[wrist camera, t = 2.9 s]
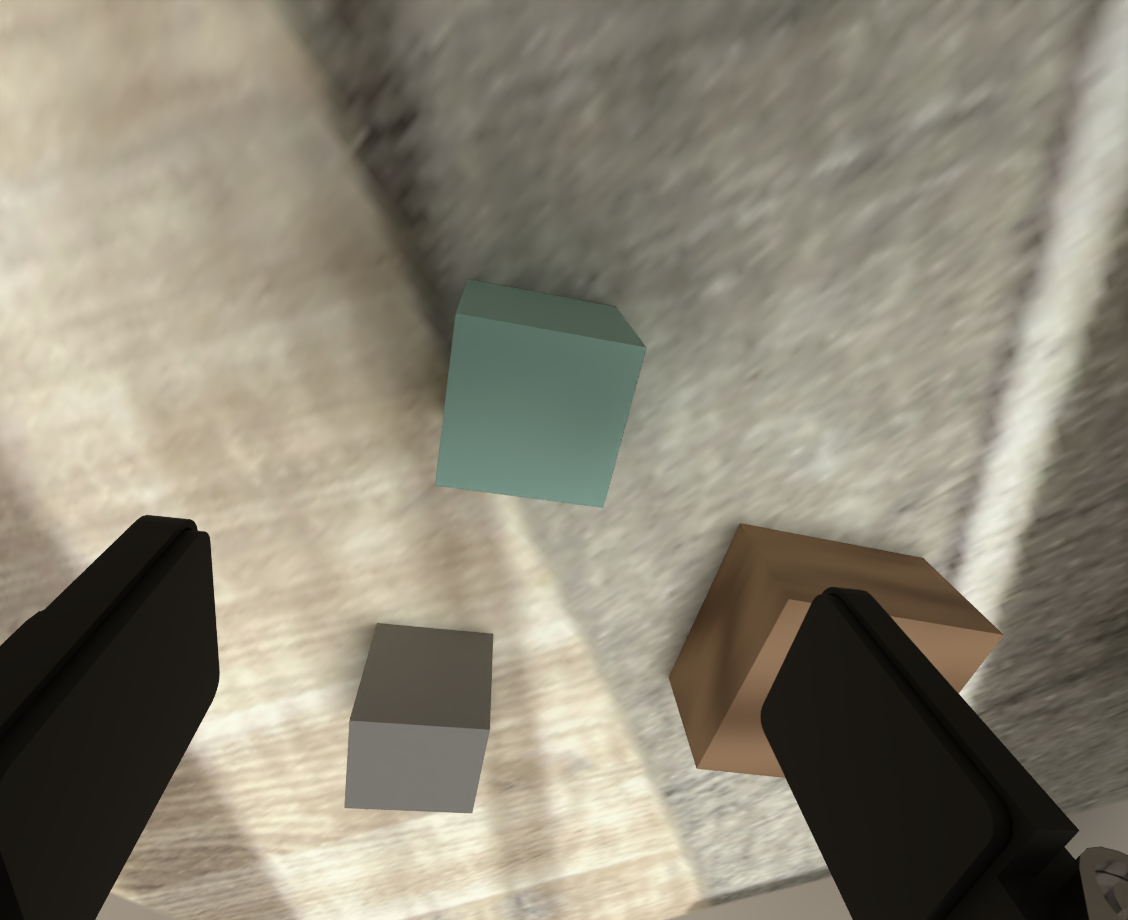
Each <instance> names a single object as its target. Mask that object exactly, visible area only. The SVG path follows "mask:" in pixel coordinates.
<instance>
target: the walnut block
mask: <svg viewBox="0 0 1128 920" xmlns="http://www.w3.org/2000/svg"><path fill="white" fill-rule="evenodd" d="M829 587H841V588H851V589H860V590H864V591H867V592H868V593H869V594H871V595H872V596H873V597H874V598H875V600H876V601H877V602H878V603H879V604H880V605H881V606H882V608H883V609H884V610H885V611H886V612H887V613H888V614H889V615H890V617H891V618H892V619H893V620H894V621H895V622H896V623H897V625H898V626H899V627H900V628H901V629H902V630H903V631H904V632H905V634H906V635H907V636H908V637H909V638H910V639H911V640H912V642H913V643H914V644H915V645H916V646H917V647H918V648H919V649H920V651H921V652H922V653H923V654H924V655H925V656H926V657H927V658H928V660H929V661H930V662H931V663H932V664H933V665H934V666H935V668H936V669H937V670H938V671H939V672H940V673H941V674H942V675H943V677H944V678H945V679H946V680H947V681H948V682H949V683H950V685H951V686H952V687H953V688H954V689H955V690H956V691H957V692H958V694H959V692H960V691H961V690H962V689H963V687H964V686H965V685H966V683H967V682H968V681H969V679H970V678H971V677H972V676H973V674H974V673H975V672H976V670H977V669H978V668H979V666H980V665H981V664H982V663H983V661H984V660H985V659H986V657H987V656H988V655H989V653H990V652H991V651H992V650H993V648H994V647H995V646H996V644H997V643H998V642H999V641H1000V639H1001V638H1002V637H1003V634H1002V633H1001V632H1000V631H999V630H998V629H997V628H996V627H995V626H994V625H993V624H992V623H991V622H990V621H988V620H987V619H986V618H985V617H984V616H983V615H982V614H981V613H980V612H979V611H978V610H977V609H976V608H975V607H974V606H973V605H972V604H971V603H970V602H969V601H968V600H966V599H965V598H964V597H963V596H962V595H961V594H960V593H959V592H958V591H957V590H956V589H955V588H954V587H953V586H952V585H951V584H950V583H949V582H948V581H947V580H946V579H944V578H943V577H942V576H941V575H940V574H939V573H938V572H937V571H936V570H935V569H934V568H933V567H932V566H931V565H930V564H929V563H928V562H927V561H926V560H925V559H924V558H919V557H914V556H909V555H904V554H898V553H893V552H888V551H883V550H877V549H872V548H867V547H862V546H856V545H851V544H846V543H841V542H835V541H830V540H825V539H820V538H814V537H809V536H804V535H799V534H793V533H788V532H783V531H778V530H772V529H767V528H762V527H757V526H751V525H746V524H741V523H740V525H739V527H738V529H737V532H736V534H735V536H734V538H733V540H732V542H731V545H730V547H729V549H728V551H727V553H726V555H725V557H724V560H723V562H722V564H721V566H720V568H719V570H718V572H717V575H716V577H715V579H714V581H713V583H712V585H711V588H710V590H709V592H708V594H707V596H706V598H705V600H704V603H703V605H702V607H701V609H700V611H699V613H698V615H697V618H696V620H695V622H694V624H693V626H692V628H691V630H690V633H689V635H688V637H687V639H686V641H685V643H684V646H683V648H682V650H681V652H680V654H679V656H678V658H677V661H676V663H675V665H674V667H673V669H672V671H671V673H670V676H669V680H670V683H671V687H672V690H673V693H674V696H675V700H676V703H677V706H678V709H679V713H680V716H681V719H682V722H683V726H684V729H685V732H686V735H687V739H688V742H689V745H690V748H691V752H692V755H693V758H694V761H695V765H696V768H697V769H705V770H715V771H725V772H735V773H744V774H754V775H764V776H774V777H784V778H785V776H784V774H783V771H782V769H781V767H780V765H779V763H778V761H777V759H776V757H775V755H774V752H773V750H772V748H771V746H770V744H769V742H768V740H767V738H766V736H765V734H764V731H763V729H762V725H761V717H760V715H761V709H762V705H763V703H764V701H765V699H766V697H767V695H768V693H769V691H770V689H771V687H772V685H773V682H774V680H775V678H776V676H777V674H778V672H779V670H780V668H781V666H782V664H783V662H784V659H785V657H786V655H787V653H788V651H789V649H790V647H791V645H792V643H793V641H794V639H795V636H796V634H797V632H798V630H799V628H800V626H801V624H802V622H803V620H804V618H805V616H806V614H807V611H808V609H809V607H810V605H811V603H812V601H813V600H814V598H815V597H816V596H817V595H821V594H822V593H823V591H824V590H826V589H827V588H829Z"/></svg>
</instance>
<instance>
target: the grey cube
mask: <svg viewBox="0 0 1128 920" xmlns="http://www.w3.org/2000/svg"><path fill="white" fill-rule="evenodd" d="M492 653H493V634H488V633H477V632H466V631H456V630H445V629H434V628H423V627H413V626H402V625H391V624H380V623H377V627H376V630H375V634H374V637H373V641H372V644H371V648H370V651H369V655H368V658H367V662H366V665H365V669H364V672H363V676H362V679H361V682H360V686H359V689H358V693H357V696H356V700H355V703H354V707H353V710H352V714H351V717H350V721H349V739H348V756H347V774H346V791H345V808H357V809H381V810H405V811H429V812H453V813H472V811H473V807H474V802H475V797H476V792H477V788H478V783H479V778H480V774H481V769H482V764H483V759H484V755H485V750H486V745H487V740H488V736H489V731H490V709H491V681H492Z"/></svg>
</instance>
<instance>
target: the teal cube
mask: <svg viewBox="0 0 1128 920" xmlns="http://www.w3.org/2000/svg"><path fill="white" fill-rule="evenodd" d="M645 351H646V346H645V345H644V344H643V342H642V341H641V340H640V338H639V337H638V336H637V334H636V333H635V332H634V330H633V329H632V328H631V326H630V325H629V324H628V322H627V321H626V320H625V318H624V317H623V316H622V314H621V313H620V312H619V310H618V309H617V308H616V307H613V306H608V305H603V304H598V303H592V302H587V301H582V300H577V299H572V298H566V297H561V296H556V295H551V294H545V293H540V292H535V291H530V290H524V289H519V288H514V287H509V286H503V285H498V284H493V283H488V282H482V281H477V280H472V279H468V281H467V283H466V286H465V289H464V292H463V294H462V297H461V300H460V303H459V305H458V308H457V311H456V315H455V323H454V331H453V340H452V348H451V356H450V365H449V373H448V381H447V390H446V398H445V407H444V415H443V423H442V432H441V440H440V448H439V457H438V465H437V473H436V482H435V486H442V487H450V488H458V489H465V490H473V491H480V492H488V493H495V494H503V495H511V496H518V497H526V498H533V499H541V500H548V501H556V502H564V503H571V504H579V505H586V506H594V507H602V508H603V507H604V503H605V499H606V496H607V492H608V488H609V485H610V481H611V477H612V473H613V470H614V466H615V462H616V459H617V455H618V451H619V447H620V444H621V440H622V436H623V433H624V429H625V425H626V421H627V418H628V414H629V410H630V407H631V403H632V399H633V395H634V392H635V388H636V384H637V381H638V377H639V373H640V369H641V366H642V362H643V358H644V355H645Z"/></svg>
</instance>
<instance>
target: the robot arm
mask: <svg viewBox="0 0 1128 920" xmlns="http://www.w3.org/2000/svg"><path fill="white" fill-rule="evenodd" d="M219 674H220V671H219V657H218V643H217V629H216V615H215V600H214V586H213V572H212V558H211V544H210V537H209V535H208V533H207V532H204V531H198V530H197V526H196V524H195V522H194V521H192V520H191V519H181V518H171V517H162V516H152V515H145V516H142V517H140V518H139V519H138V520H136V521H135V522H134V523H133V524H132V525H131V526H130V527H129V528H128V529H127V530H126V531H125V532H124V533H123V534H122V535H121V536H120V537H119V538H118V539H117V540H116V541H115V542H114V543H113V544H112V545H111V546H110V547H109V548H107V549H106V550H105V551H104V552H103V553H102V554H101V555H100V556H99V557H98V558H97V559H96V560H95V561H94V562H93V563H92V564H91V565H90V566H89V567H88V568H87V569H86V570H85V571H84V572H83V573H82V574H81V575H80V576H79V577H78V578H77V579H75V580H74V581H73V582H72V583H71V584H70V585H69V586H68V587H67V588H66V589H65V590H64V591H63V592H62V593H61V594H60V595H59V596H58V597H57V598H56V599H55V600H54V601H53V602H52V603H51V604H50V605H49V606H48V607H47V608H46V609H45V610H42V611H39V612H38V613H36V614H35V615H34V616H32V617H31V618H30V619H28V620H27V621H26V622H25V623H24V624H23V625H22V626H21V627H20V628H18V629H17V630H16V631H15V632H14V633H13V634H12V635H11V636H10V637H9V638H8V639H7V640H6V641H5V642H4V643H3V644H2V645H1V646H0V920H95V919H96V917H97V915H98V913H99V911H100V910H101V908H102V906H103V904H104V902H105V900H106V898H107V897H108V895H109V893H110V891H111V889H112V887H113V885H114V884H115V882H116V880H117V878H118V876H119V874H120V872H121V871H122V869H123V867H124V865H125V863H126V861H127V859H128V858H129V856H130V854H131V852H132V850H133V848H134V846H135V844H136V843H137V841H138V839H139V837H140V835H141V833H142V831H143V830H144V828H145V826H146V824H147V822H148V820H149V818H150V817H151V815H152V813H153V811H154V809H155V807H156V805H157V804H158V802H159V800H160V798H161V796H162V794H163V792H164V790H165V789H166V787H167V785H168V783H169V781H170V779H171V777H172V776H173V774H174V772H175V770H176V768H177V766H178V764H179V763H180V761H181V759H182V757H183V755H184V753H185V751H186V750H187V748H188V746H189V744H190V742H191V740H192V738H193V737H194V735H195V733H196V731H197V729H198V727H199V725H200V723H201V722H202V720H203V718H204V716H205V714H206V712H207V710H208V709H209V707H210V705H211V703H212V701H213V699H214V697H215V694H216V691H217V687H218V683H219ZM760 717H761V725H762V729H763V731H764V734H765V736H766V738H767V740H768V742H769V744H770V746H771V748H772V750H773V752H774V755H775V757H776V759H777V761H778V763H779V765H780V767H781V769H782V771H783V774H784V776H785V778H786V780H787V782H788V784H789V786H790V788H791V790H792V792H793V795H794V797H795V799H796V801H797V803H798V805H799V807H800V809H801V811H802V814H803V816H804V818H805V820H806V822H807V824H808V826H809V828H810V830H811V832H812V835H813V837H814V839H815V841H816V843H817V845H818V847H819V849H820V851H821V854H822V856H823V858H824V860H825V862H826V864H827V866H828V868H829V870H830V872H831V875H832V877H833V879H834V881H835V883H836V885H837V887H838V889H839V891H840V894H841V895H842V898H843V900H844V902H845V904H846V906H847V908H848V910H849V912H850V915H851V917H852V919H853V920H1128V855H1126V854H1124V853H1122V852H1120V851H1117V850H1113V849H1108V848H1104V847H1093V848H1087V849H1086V850H1085V851H1084V852H1083V853H1082V854H1081V855H1080V856H1079V857H1078V858H1077V859H1076V860H1075V859H1074V858H1073V857H1072V856H1071V854H1070V853H1069V852H1068V851H1067V850H1066V848H1065V845H1066V844H1067V843H1068V842H1069V841H1070V840H1071V839H1072V838H1073V837H1074V836H1075V835H1076V834H1077V832H1078V831H1079V830H1078V829H1077V827H1076V826H1075V825H1074V824H1073V823H1072V822H1071V821H1070V820H1069V818H1068V817H1067V816H1066V815H1065V814H1064V813H1063V811H1062V810H1061V809H1060V808H1059V807H1058V806H1057V805H1056V804H1055V802H1054V801H1053V800H1052V799H1051V798H1050V797H1049V796H1048V794H1047V793H1046V792H1045V791H1044V790H1043V789H1042V788H1041V787H1040V785H1039V784H1038V783H1037V782H1036V781H1035V780H1034V779H1033V777H1032V776H1031V775H1030V774H1029V773H1028V772H1027V771H1026V770H1025V768H1024V767H1023V766H1022V765H1021V764H1020V763H1019V762H1018V760H1017V759H1016V758H1015V757H1014V756H1013V755H1012V754H1011V753H1010V751H1009V750H1008V749H1007V748H1006V747H1005V746H1004V745H1003V743H1002V742H1001V741H1000V740H999V739H998V738H997V737H996V736H995V734H994V733H993V732H992V731H991V730H990V729H989V728H988V726H987V725H986V724H985V723H984V722H983V721H982V720H981V719H980V717H979V716H978V715H977V714H976V713H975V712H974V711H973V709H972V708H971V707H970V706H969V705H968V704H967V703H966V702H965V700H964V699H963V698H962V697H961V696H960V695H959V694H958V692H957V691H956V690H955V689H954V688H953V687H952V686H951V685H950V683H949V682H948V681H947V680H946V679H945V678H944V677H943V675H942V674H941V673H940V672H939V671H938V670H937V669H936V668H935V666H934V665H933V664H932V663H931V662H930V661H929V660H928V658H927V657H926V656H925V655H924V654H923V653H922V652H921V651H920V649H919V648H918V647H917V646H916V645H915V644H914V643H913V642H912V640H911V639H910V638H909V637H908V636H907V635H906V634H905V632H904V631H903V630H902V629H901V628H900V627H899V626H898V625H897V623H896V622H895V621H894V620H893V619H892V618H891V617H890V615H889V614H888V613H887V612H886V611H885V610H884V609H883V608H882V606H881V605H880V604H879V603H878V602H877V601H876V600H875V598H874V597H873V596H872V595H871V594H869V593H868V592H867V591H864V590H860V589H851V588H841V587H829V588H827V589H826V590H824V591H823V593H822V594H821V595H817V596H816V597H815V598H814V600H813V601H812V603H811V605H810V607H809V609H808V611H807V614H806V616H805V618H804V620H803V622H802V624H801V626H800V628H799V630H798V632H797V634H796V636H795V639H794V641H793V643H792V645H791V647H790V649H789V651H788V653H787V655H786V657H785V659H784V662H783V664H782V666H781V668H780V670H779V672H778V674H777V676H776V678H775V680H774V682H773V685H772V687H771V689H770V691H769V693H768V695H767V697H766V699H765V701H764V703H763V705H762V709H761V715H760Z"/></svg>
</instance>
